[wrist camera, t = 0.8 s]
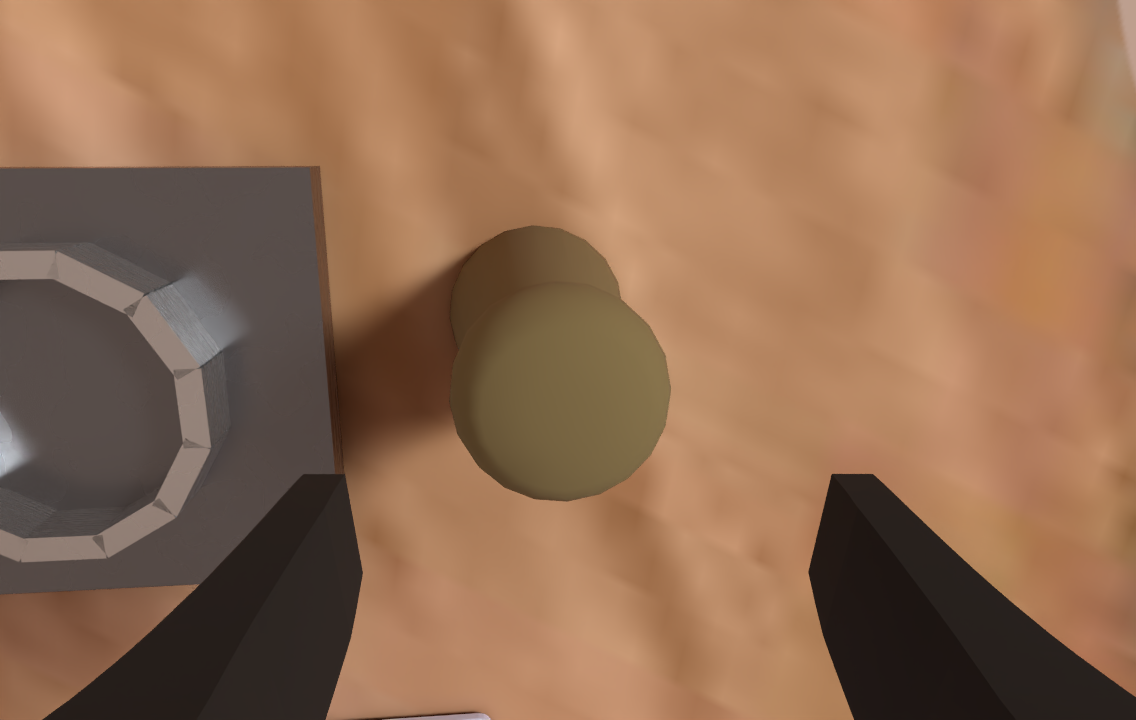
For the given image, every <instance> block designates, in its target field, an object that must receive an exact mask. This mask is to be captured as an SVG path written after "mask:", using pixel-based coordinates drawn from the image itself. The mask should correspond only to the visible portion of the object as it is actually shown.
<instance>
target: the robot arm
mask: <svg viewBox="0 0 1136 720" xmlns="http://www.w3.org/2000/svg"><path fill="white" fill-rule="evenodd" d="M362 574H363V571H362V566H361V560H360V555H359V549H358V544H357V538H356V533H355V527H354V522H353V516H352V511H351V505H350V500H349V494H348V489H347V483H346V478H345V474H303V475H302V476H301V477H300V478H299V479H298V480H297V481H296V482H295V483H294V484H293V485H292V486H291V487H290V488H289V489H288V491H287V492H286V493H285V494H284V495H283V496H282V497H281V498H280V499H279V501H278V502H277V503H276V504H275V505H274V506H273V507H272V508H271V509H270V511H269V512H268V513H267V514H266V515H265V516H264V517H263V518H262V519H261V521H260V522H259V523H258V524H257V525H256V526H255V527H254V528H253V529H252V530H251V532H250V533H249V534H248V535H247V536H246V537H245V538H244V539H243V540H242V541H241V542H240V543H239V544H238V546H237V547H236V548H235V549H234V550H233V551H232V552H231V553H230V554H229V555H228V556H227V557H226V558H225V559H224V560H223V561H222V562H221V563H220V564H219V565H218V566H217V567H216V569H215V570H214V571H213V572H212V573H211V574H210V575H209V576H208V577H207V578H206V579H205V580H204V581H203V582H202V583H201V584H200V585H199V586H198V587H197V588H196V589H195V590H194V591H193V592H192V593H191V594H190V595H189V596H188V597H187V598H185V599H184V600H183V601H182V602H181V603H180V604H179V605H178V606H177V607H176V608H175V609H174V610H173V611H172V612H171V613H170V614H169V615H168V616H167V617H166V618H165V619H163V620H162V621H161V622H160V623H159V624H158V625H157V626H156V627H155V628H154V629H153V630H152V631H151V632H150V633H149V634H147V635H146V636H145V637H144V638H143V639H142V640H141V641H140V642H138V643H137V644H136V645H135V646H134V647H133V648H132V649H131V650H129V651H128V652H127V653H126V654H125V655H124V656H123V657H121V658H120V659H119V660H118V661H117V662H116V663H114V664H113V665H112V666H111V667H110V668H108V669H107V670H106V671H105V672H103V673H102V674H101V675H100V676H99V677H97V678H96V679H95V680H94V681H93V682H91V683H90V684H89V685H88V686H87V687H85V688H84V689H83V690H81V691H80V692H79V693H78V694H76V695H75V696H74V697H72V698H71V699H70V700H69V701H67V702H66V703H64V704H63V705H62V706H60V707H59V708H58V709H56V710H55V711H54V712H52V713H51V714H49V715H48V716H47V717H45V718H44V719H43V720H325V719H326V716H327V713H328V710H329V707H330V703H331V700H332V697H333V694H334V691H335V688H336V684H337V681H338V678H339V675H340V671H341V668H342V665H343V662H344V659H345V655H346V652H347V649H348V645H349V642H350V639H351V634H352V629H353V624H354V619H355V614H356V609H357V603H358V597H359V592H360V586H361V580H362ZM809 577H810V581H811V586H812V590H813V595H814V599H815V604H816V608H817V612H818V616H819V620H820V624H821V629H822V633H823V636H824V639H825V642H826V645H827V648H828V650H829V653H830V656H831V659H832V661H833V664H834V667H835V670H836V672H837V675H838V678H839V680H840V683H841V686H842V689H843V691H844V694H845V697H846V699H847V702H848V705H849V707H850V710H851V712H852V715H853V718H854V720H1136V697H1135V696H1133V695H1132V694H1130V693H1129V692H1127V691H1126V690H1125V689H1123V688H1122V687H1120V686H1119V685H1118V684H1116V683H1115V682H1114V681H1112V680H1111V679H1109V678H1108V677H1107V676H1105V675H1104V674H1103V673H1101V672H1100V671H1098V670H1097V669H1096V668H1094V667H1093V666H1092V665H1090V664H1089V663H1087V662H1086V661H1085V660H1083V659H1082V658H1081V657H1079V656H1078V655H1077V654H1075V653H1074V652H1073V651H1071V650H1070V649H1069V648H1067V647H1066V646H1065V645H1064V644H1062V643H1061V642H1060V641H1058V640H1057V639H1056V638H1055V637H1053V636H1052V635H1051V634H1049V633H1048V632H1047V631H1046V630H1045V629H1043V628H1042V627H1041V626H1040V625H1039V624H1037V623H1036V622H1035V621H1034V620H1032V619H1031V618H1030V617H1029V616H1028V615H1026V614H1025V613H1024V612H1023V611H1022V610H1020V609H1019V608H1018V607H1017V606H1015V605H1014V604H1013V603H1012V602H1011V601H1009V600H1008V599H1007V598H1006V597H1005V596H1004V595H1003V594H1001V593H1000V592H999V591H998V590H997V589H996V588H994V587H993V586H992V585H991V584H990V583H989V582H988V581H986V580H985V579H984V578H983V577H982V576H981V575H980V574H979V573H978V572H976V571H975V570H974V569H973V568H972V567H971V566H970V565H969V564H968V563H967V562H965V561H964V560H963V559H962V558H961V557H960V556H959V555H958V554H957V553H956V552H955V551H953V550H952V549H951V548H950V547H949V546H948V545H947V544H946V543H945V542H944V541H943V540H942V539H941V538H940V537H939V536H937V535H936V534H935V533H934V532H933V531H932V530H931V529H930V528H929V527H928V526H927V525H926V524H925V523H924V522H923V521H922V520H921V519H920V518H919V517H918V516H917V515H915V514H914V513H913V512H912V511H911V510H910V509H909V508H908V507H907V506H906V505H905V504H904V503H903V502H902V501H901V500H900V499H899V498H898V497H897V496H896V495H895V494H894V493H893V492H892V491H891V490H889V489H888V488H887V487H886V486H885V485H884V484H883V483H882V482H881V481H880V480H879V479H878V478H877V477H876V476H874V475H873V474H832V475H831V480H830V484H829V488H828V492H827V496H826V501H825V505H824V509H823V513H822V517H821V522H820V526H819V530H818V534H817V538H816V543H815V547H814V551H813V555H812V559H811V564H810V568H809ZM384 720H491V719H490V718H489V716H488V715H486V714H483V713H472V714H457V715H442V716H428V717H413V718H398V719H384Z"/></svg>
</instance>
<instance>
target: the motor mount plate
mask: <svg viewBox="0 0 1136 720" xmlns="http://www.w3.org/2000/svg"><path fill="white" fill-rule="evenodd" d="M303 474H344V466H343V453H342V441H341V428H340V416H339V403H338V391H337V378H336V366H335V353H334V341H333V328H332V316H331V303H330V291H329V278H328V266H327V253H326V241H325V228H324V216H323V203H322V190H321V178H320V166H233V167H0V594H17V593H36V592H56V591H75V590H95V589H115V588H134V587H154V586H173V585H193V584H201V583H202V582H203V581H204V580H205V579H206V578H207V577H208V576H209V575H210V574H211V573H212V572H213V571H214V570H215V569H216V567H217V566H218V565H219V564H220V563H221V562H222V561H223V560H224V559H225V558H226V557H227V556H228V555H229V554H230V553H231V552H232V551H233V550H234V549H235V548H236V547H237V546H238V544H239V543H240V542H241V541H242V540H243V539H244V538H245V537H246V536H247V535H248V534H249V533H250V532H251V530H252V529H253V528H254V527H255V526H256V525H257V524H258V523H259V522H260V521H261V519H262V518H263V517H264V516H265V515H266V514H267V513H268V512H269V511H270V509H271V508H272V507H273V506H274V505H275V504H276V503H277V502H278V501H279V499H280V498H281V497H282V496H283V495H284V494H285V493H286V492H287V491H288V489H289V488H290V487H291V486H292V485H293V484H294V483H295V482H296V481H297V480H298V479H299V478H300V477H301V476H302V475H303Z"/></svg>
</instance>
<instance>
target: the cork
mask: <svg viewBox="0 0 1136 720" xmlns="http://www.w3.org/2000/svg"><path fill="white" fill-rule="evenodd" d="M450 321H451V325H452V329H453V333H454V337H455V341H456V345H457V347H458V349H459V351H458V353H457V355H456V357H455V360H454V363H453V367H452V377H451V389H450V400H449V402H450V406H451V410H452V414H453V418H454V422H455V426H456V430H457V434H458V436H459V437H460V439H461V440H462V442H463V443H464V445H465V447H466V448H467V450H468V451H469V453H470V454H471V456H472V457H473V459H474V460H475V462H476V463H477V465H478V466H479V467H480V468H481V469H482V470H483V471H485V472H486V473H487V474H488V475H490V476H491V477H492V478H493V479H495V480H496V481H497V482H498V483H500V484H501V485H502V486H503V487H505V488H507V489H510V490H512V491H515V492H518V493H520V494H523V495H525V496H528V497H531V498H533V499H540V500H554V501H572V500H576V499H581V498H585V497H590V496H594V495H598V494H601V493H603V492H604V491H606V490H608V489H610V488H612V487H613V486H615V485H617V484H619V483H621V482H622V481H624V480H626V479H628V478H629V477H630V476H631V475H632V474H633V473H634V472H635V471H636V470H637V469H638V468H639V467H640V466H641V465H642V464H643V463H644V461H645V460H646V459H647V458H648V457H649V456H650V455H651V454H652V452H653V450H654V448H655V446H656V444H657V442H658V440H659V438H660V436H661V434H662V432H663V430H664V428H665V425H666V419H667V413H668V406H669V400H670V392H671V386H670V380H669V374H668V368H667V362H666V356H665V354H664V352H663V350H662V348H661V346H660V344H659V342H658V341H657V339H656V337H655V335H654V333H653V331H652V330H651V328H650V326H649V325H648V324H647V323H646V322H645V321H644V320H643V319H642V318H641V317H640V316H639V315H638V314H637V313H636V312H634V311H633V310H632V309H631V308H630V307H629V306H628V305H627V304H626V303H625V302H624V301H623V300H621V297H620V291H619V286H618V281H617V280H616V278H615V276H614V274H613V272H612V270H611V269H610V267H609V265H608V263H607V261H606V259H605V258H604V257H603V256H602V255H601V254H600V253H599V252H597V251H596V250H595V249H594V248H593V247H592V246H591V245H590V244H589V243H588V242H587V241H586V240H584V239H582V238H580V237H577V236H575V235H573V234H571V233H569V232H567V231H564V230H562V229H559V228H550V227H541V226H528V227H523V228H519V229H514V230H509V231H505V232H503V233H502V234H500V235H498V236H496V237H495V238H493V239H491V240H489V241H488V242H486V243H484V244H482V245H481V246H480V247H479V248H478V249H477V251H476V252H475V253H474V254H473V255H472V256H471V257H470V258H469V259H468V261H467V262H466V263H465V264H464V265H463V267H462V269H461V271H460V274H459V276H458V278H457V281H456V283H455V285H454V287H453V290H452V297H451V309H450Z"/></svg>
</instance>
